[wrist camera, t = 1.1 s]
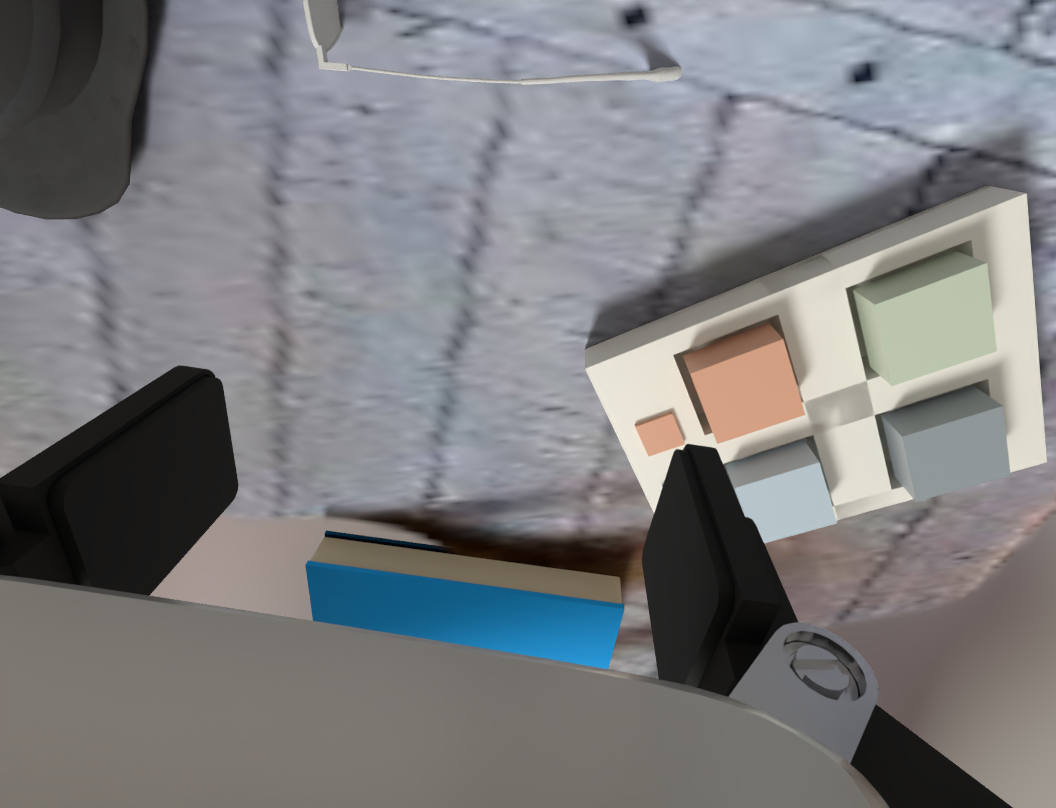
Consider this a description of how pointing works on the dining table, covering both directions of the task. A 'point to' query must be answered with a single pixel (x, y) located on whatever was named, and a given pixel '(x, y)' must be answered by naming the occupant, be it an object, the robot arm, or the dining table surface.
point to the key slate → (947, 443)
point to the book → (464, 599)
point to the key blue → (783, 491)
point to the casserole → (68, 103)
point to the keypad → (835, 355)
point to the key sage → (927, 317)
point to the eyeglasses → (327, 32)
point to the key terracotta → (745, 383)
